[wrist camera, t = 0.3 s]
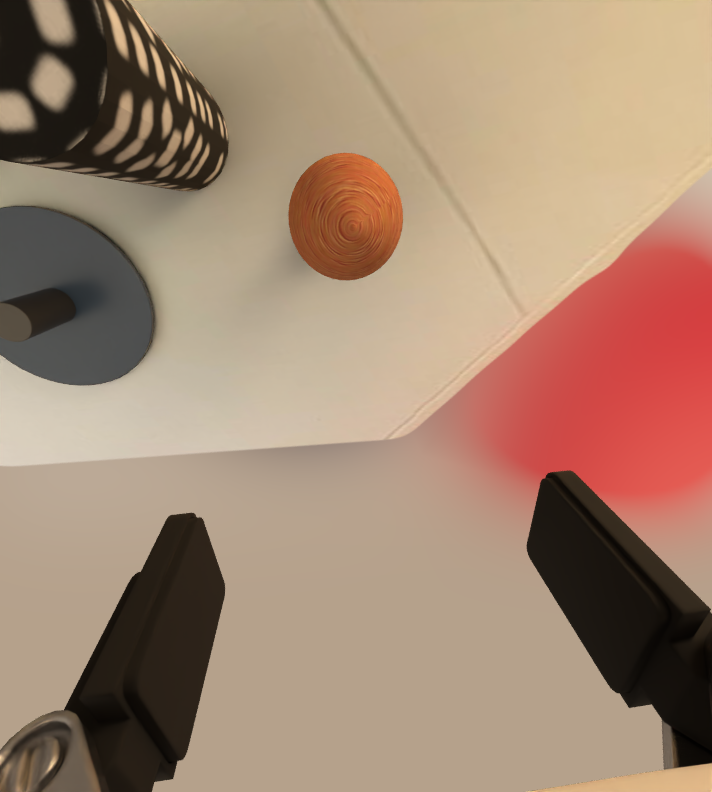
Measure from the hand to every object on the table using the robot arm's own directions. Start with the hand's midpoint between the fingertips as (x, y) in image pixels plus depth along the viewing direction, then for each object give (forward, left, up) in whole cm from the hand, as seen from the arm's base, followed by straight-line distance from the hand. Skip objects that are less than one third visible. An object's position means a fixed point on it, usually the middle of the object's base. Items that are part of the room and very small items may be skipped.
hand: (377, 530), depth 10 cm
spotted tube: (-14, -12, -31) cm, 36 cm away
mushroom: (-7, +1, -31) cm, 32 cm away
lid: (-1, -26, -30) cm, 40 cm away
